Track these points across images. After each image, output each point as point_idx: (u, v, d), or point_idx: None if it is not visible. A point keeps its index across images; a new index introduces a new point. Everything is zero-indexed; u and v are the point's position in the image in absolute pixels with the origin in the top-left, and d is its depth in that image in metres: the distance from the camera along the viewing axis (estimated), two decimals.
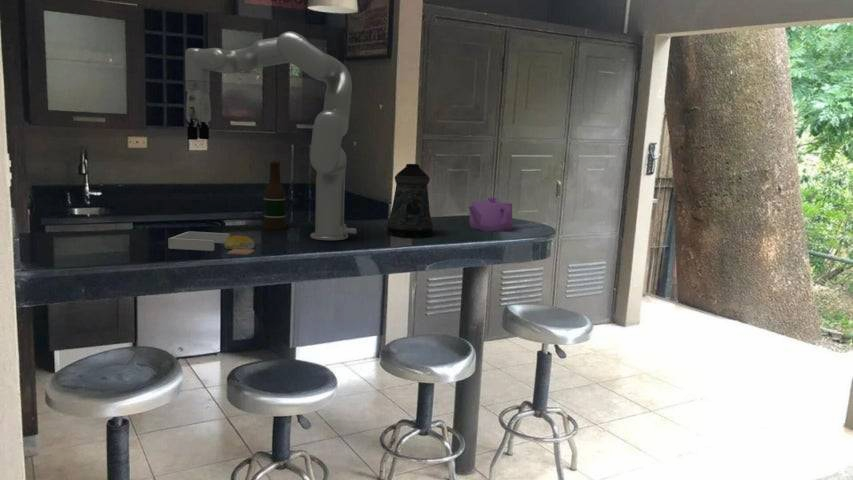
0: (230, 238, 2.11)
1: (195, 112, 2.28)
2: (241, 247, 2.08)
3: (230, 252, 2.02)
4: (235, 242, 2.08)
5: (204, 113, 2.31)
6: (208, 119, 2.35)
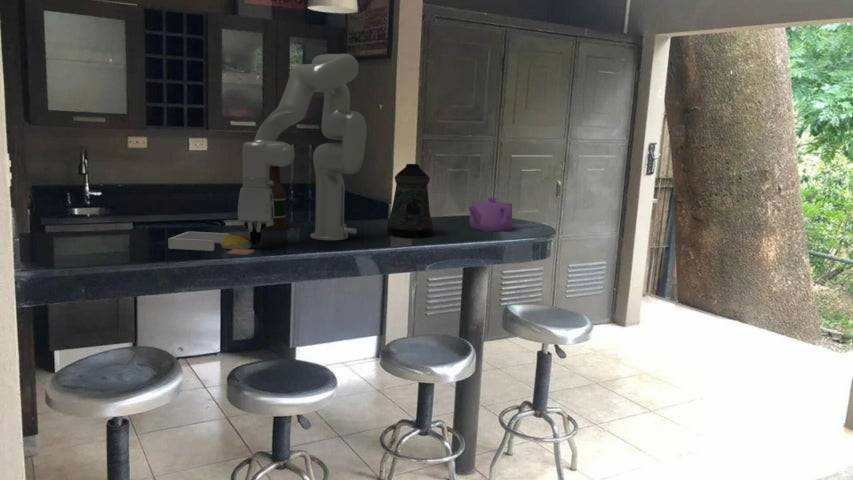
0: (227, 238, 2.11)
1: (273, 211, 2.11)
2: (239, 246, 2.08)
3: (230, 252, 2.02)
4: (232, 242, 2.08)
5: None
6: None
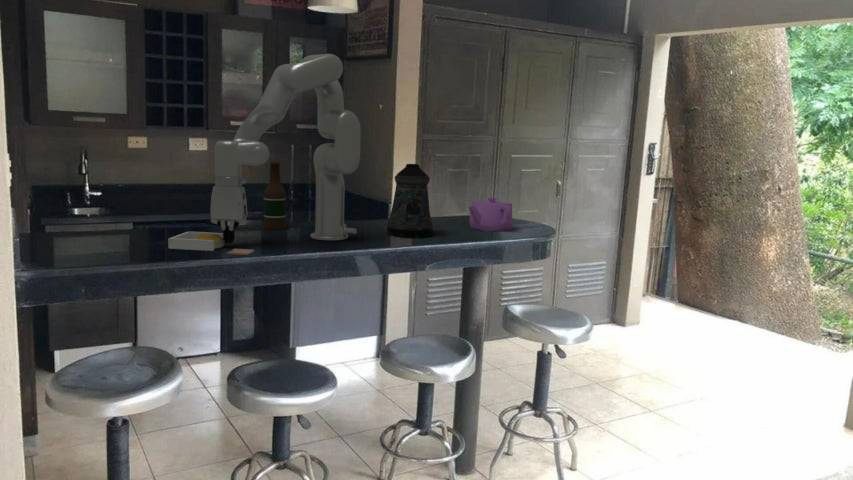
0: (199, 237, 2.10)
1: (246, 209, 2.11)
2: None
3: (230, 252, 2.02)
4: None
5: None
6: None
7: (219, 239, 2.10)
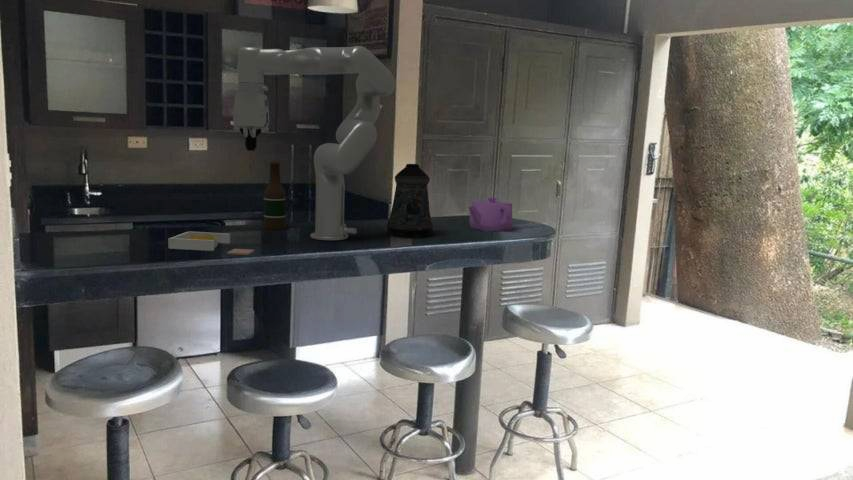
0: (193, 237, 2.10)
1: (268, 117, 2.14)
2: None
3: (230, 252, 2.02)
4: None
5: None
6: None
7: (213, 239, 2.10)
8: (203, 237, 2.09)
